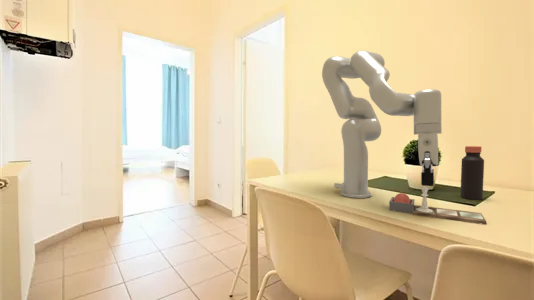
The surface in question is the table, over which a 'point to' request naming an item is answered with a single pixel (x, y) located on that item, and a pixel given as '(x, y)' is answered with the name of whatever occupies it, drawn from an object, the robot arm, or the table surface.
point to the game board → (453, 215)
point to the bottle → (472, 174)
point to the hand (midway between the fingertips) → (427, 183)
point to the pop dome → (402, 198)
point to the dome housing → (401, 206)
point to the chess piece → (424, 202)
